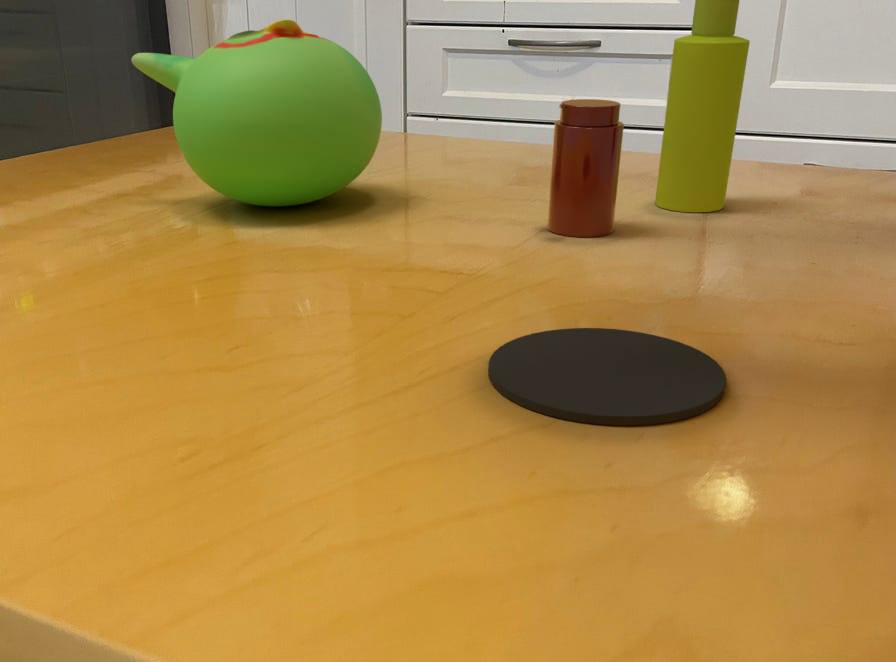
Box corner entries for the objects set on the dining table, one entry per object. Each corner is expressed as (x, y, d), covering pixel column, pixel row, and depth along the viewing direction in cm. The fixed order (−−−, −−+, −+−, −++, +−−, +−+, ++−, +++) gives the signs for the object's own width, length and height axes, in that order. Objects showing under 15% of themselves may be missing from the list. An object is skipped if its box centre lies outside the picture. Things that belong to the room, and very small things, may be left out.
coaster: (672, 331, 54) (673, 322, 54) (767, 417, 44) (769, 408, 44) (468, 341, 53) (468, 332, 53) (517, 433, 43) (518, 423, 42)
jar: (593, 219, 78) (604, 97, 73) (625, 234, 74) (639, 105, 69) (536, 224, 77) (544, 100, 72) (565, 239, 72) (575, 108, 68)
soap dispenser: (747, 207, 82) (792, -60, 72) (684, 215, 79) (721, -61, 69) (702, 194, 86) (738, -59, 76) (641, 201, 84) (670, -59, 74)
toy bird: (259, 237, 73) (242, 26, 66) (141, 203, 83) (114, 18, 76) (419, 200, 84) (419, 17, 77) (298, 174, 94) (288, 10, 87)
